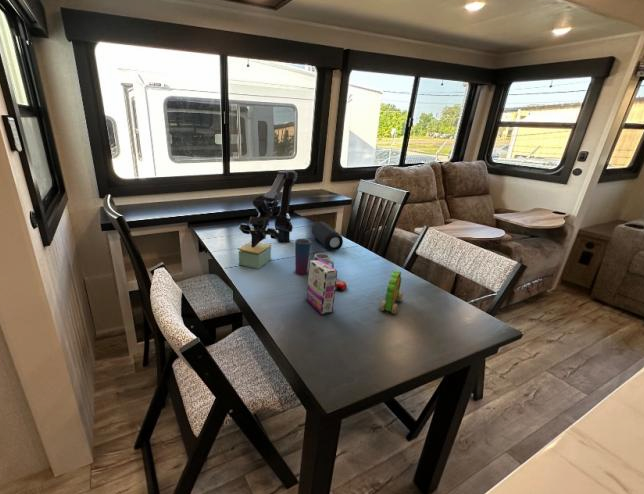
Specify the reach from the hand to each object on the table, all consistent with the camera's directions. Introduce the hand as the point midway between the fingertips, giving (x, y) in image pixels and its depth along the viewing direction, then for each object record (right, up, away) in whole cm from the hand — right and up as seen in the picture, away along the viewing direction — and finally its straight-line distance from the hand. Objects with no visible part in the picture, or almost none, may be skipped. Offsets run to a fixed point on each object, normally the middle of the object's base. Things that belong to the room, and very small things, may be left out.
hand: (252, 247), depth 144 cm
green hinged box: (+1, -7, +5) cm, 9 cm away
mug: (+33, -11, -2) cm, 35 cm away
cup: (+22, -12, -4) cm, 25 cm away
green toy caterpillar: (+53, -23, -30) cm, 65 cm away
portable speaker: (+39, +2, +30) cm, 50 cm away
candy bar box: (+27, -22, -30) cm, 46 cm away
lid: (+1, 0, +2) cm, 3 cm away
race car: (+33, -17, -16) cm, 40 cm away
